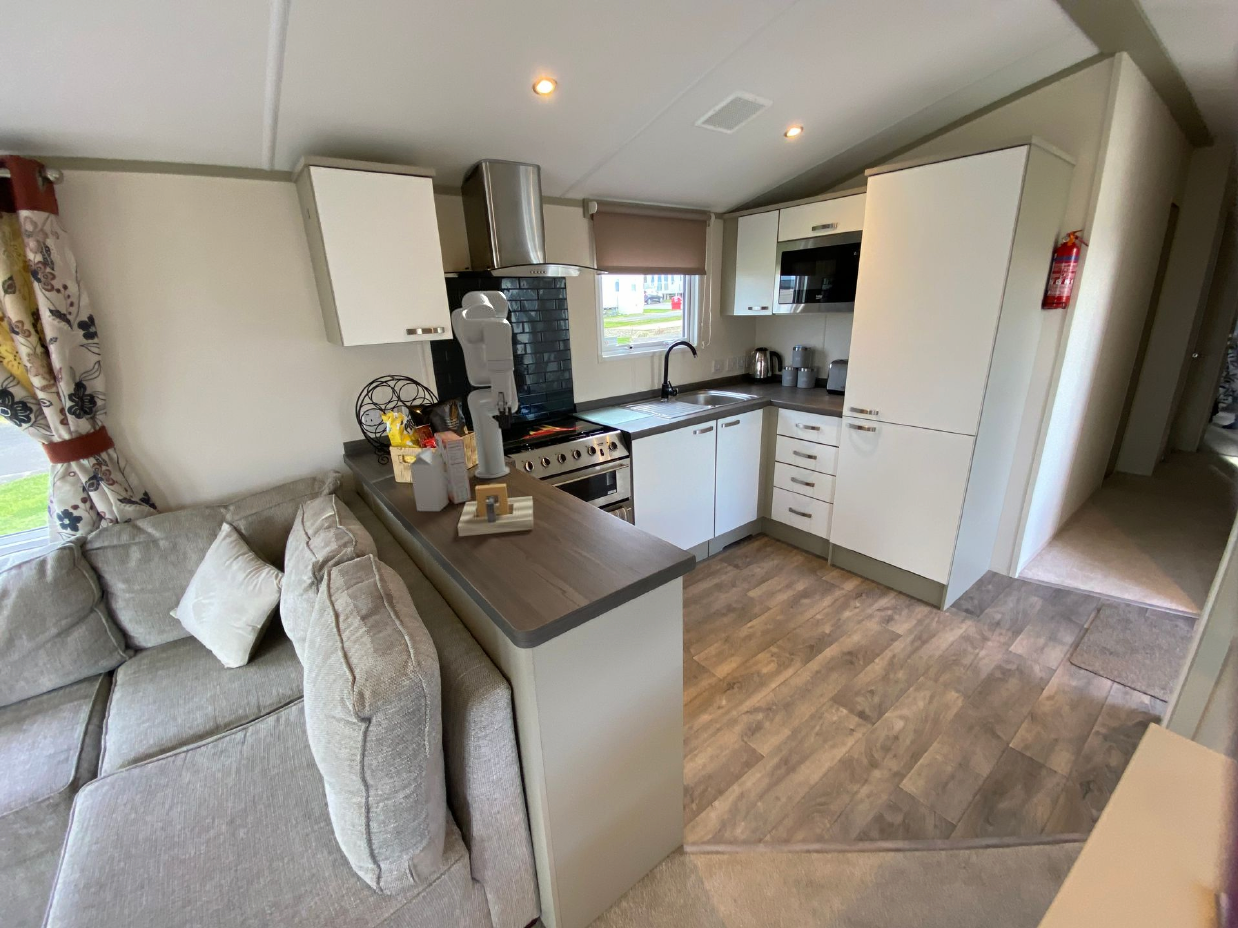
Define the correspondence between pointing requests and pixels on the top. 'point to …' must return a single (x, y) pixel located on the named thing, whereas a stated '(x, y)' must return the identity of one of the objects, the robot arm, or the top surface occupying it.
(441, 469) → the milk carton
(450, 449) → the cracker box
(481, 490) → the tan wooden block
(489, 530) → the square frame with handle
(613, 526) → the top surface
